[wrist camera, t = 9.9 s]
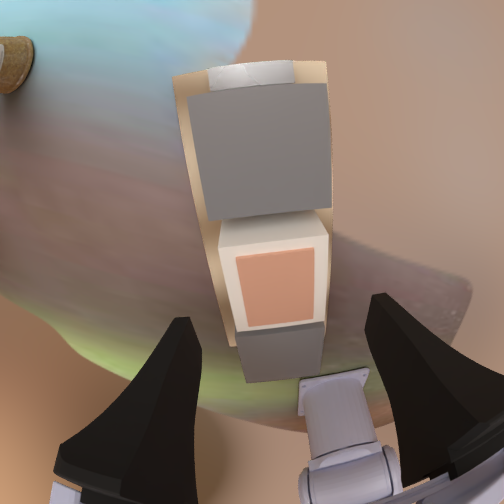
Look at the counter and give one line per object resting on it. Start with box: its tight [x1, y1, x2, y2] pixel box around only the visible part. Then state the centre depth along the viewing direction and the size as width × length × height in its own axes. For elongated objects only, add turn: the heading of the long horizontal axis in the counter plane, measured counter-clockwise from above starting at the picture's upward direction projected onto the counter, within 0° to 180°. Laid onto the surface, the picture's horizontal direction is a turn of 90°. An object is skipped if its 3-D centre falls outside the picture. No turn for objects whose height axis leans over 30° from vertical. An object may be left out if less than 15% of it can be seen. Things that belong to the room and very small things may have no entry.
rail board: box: [172, 60, 333, 383], centre depth 15 cm, size 20×8×6 cm, turn 7°
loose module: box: [218, 209, 329, 332], centre depth 14 cm, size 5×4×5 cm
